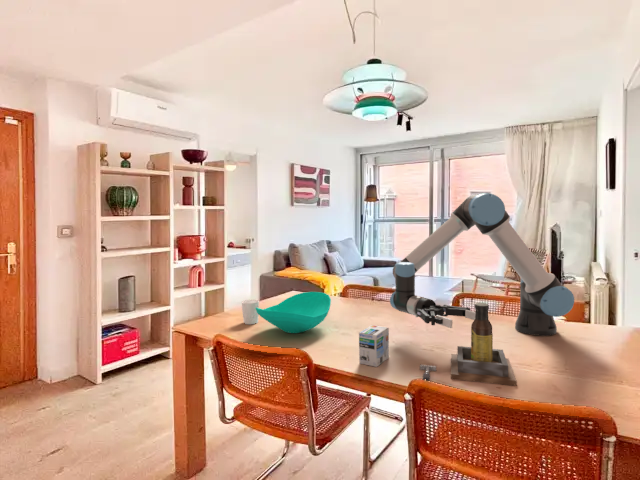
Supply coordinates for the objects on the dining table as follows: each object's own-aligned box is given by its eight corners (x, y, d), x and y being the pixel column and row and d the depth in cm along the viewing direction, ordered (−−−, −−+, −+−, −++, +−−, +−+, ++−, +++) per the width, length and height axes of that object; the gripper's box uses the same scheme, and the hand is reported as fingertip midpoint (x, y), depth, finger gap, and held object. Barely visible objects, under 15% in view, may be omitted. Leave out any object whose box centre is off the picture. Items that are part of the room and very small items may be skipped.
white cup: (239, 324, 187) (238, 302, 186) (248, 319, 194) (247, 299, 193) (253, 325, 184) (253, 303, 183) (262, 321, 191) (262, 300, 191)
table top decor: (295, 316, 199) (295, 289, 198) (345, 323, 184) (345, 294, 183) (239, 338, 165) (238, 306, 164) (294, 350, 151) (293, 315, 150)
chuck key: (420, 368, 131) (420, 362, 131) (436, 369, 130) (436, 363, 129) (417, 379, 122) (417, 373, 122) (434, 381, 121) (434, 375, 121)
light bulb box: (377, 367, 132) (376, 335, 132) (358, 363, 136) (358, 332, 135) (389, 357, 142) (389, 326, 141) (371, 353, 145) (371, 324, 144)
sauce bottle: (475, 360, 133) (476, 300, 131) (495, 365, 128) (496, 303, 127) (467, 366, 128) (468, 304, 126) (487, 371, 124) (488, 307, 122)
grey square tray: (508, 363, 134) (508, 348, 133) (516, 385, 117) (516, 368, 116) (451, 357, 139) (451, 343, 139) (450, 378, 122) (450, 362, 122)
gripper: (446, 312, 157) (492, 326, 138) (395, 322, 146) (437, 338, 127) (446, 293, 157) (493, 304, 138) (395, 301, 145) (438, 314, 126)
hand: (466, 320), depth 132 cm, fingers open, 13 cm apart
